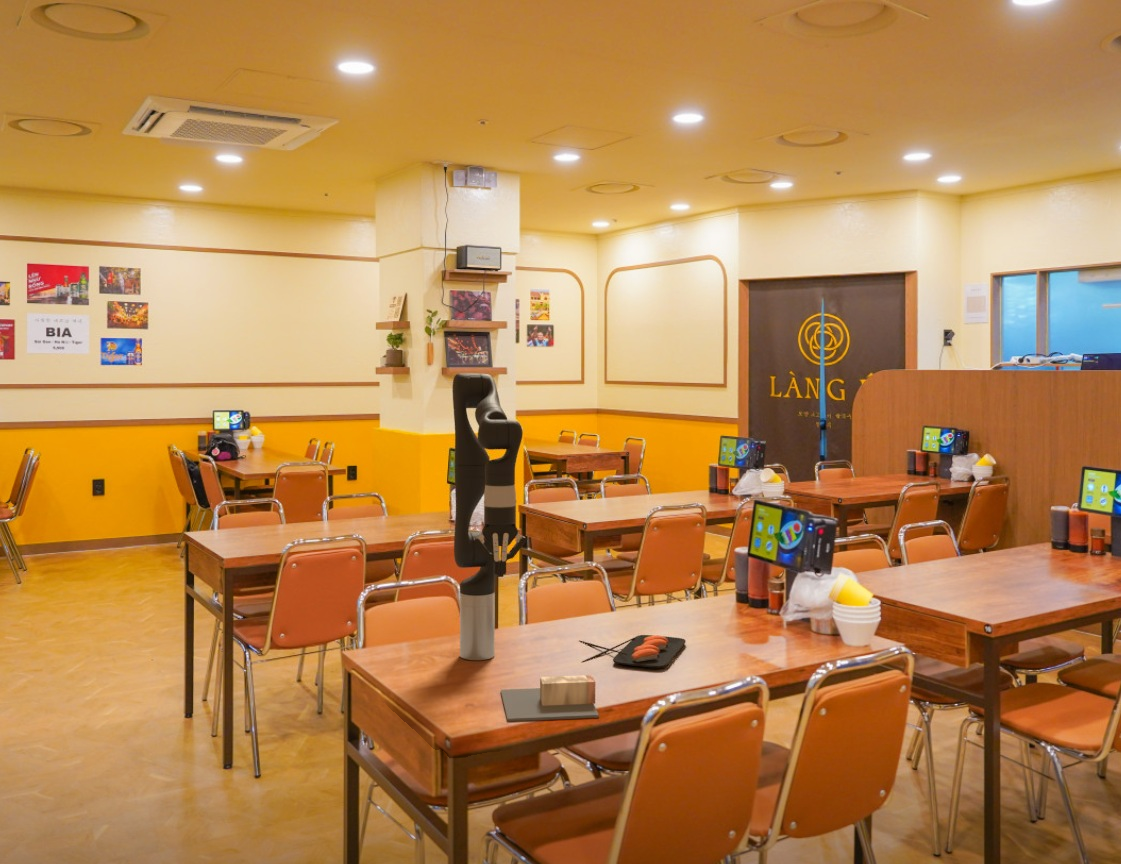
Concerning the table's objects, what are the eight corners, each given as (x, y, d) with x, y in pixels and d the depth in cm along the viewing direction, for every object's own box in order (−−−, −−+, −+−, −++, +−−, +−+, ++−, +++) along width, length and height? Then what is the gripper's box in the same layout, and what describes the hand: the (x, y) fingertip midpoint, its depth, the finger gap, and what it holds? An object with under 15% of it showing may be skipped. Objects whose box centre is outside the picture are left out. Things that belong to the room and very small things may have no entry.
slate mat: (500, 692, 231) (500, 689, 231) (584, 688, 233) (584, 686, 233) (507, 721, 211) (507, 718, 211) (598, 717, 213) (598, 714, 213)
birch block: (540, 677, 224) (591, 675, 226) (540, 698, 224) (591, 696, 226) (542, 683, 219) (595, 681, 221) (542, 705, 219) (595, 703, 221)
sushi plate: (664, 674, 247) (664, 659, 247) (552, 662, 257) (552, 648, 257) (688, 645, 274) (688, 631, 274) (586, 635, 284) (586, 622, 284)
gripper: (526, 501, 236) (526, 572, 237) (471, 502, 234) (471, 573, 235) (529, 505, 228) (529, 579, 229) (472, 506, 227) (472, 580, 228)
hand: (499, 576), depth 232 cm, fingers closed
